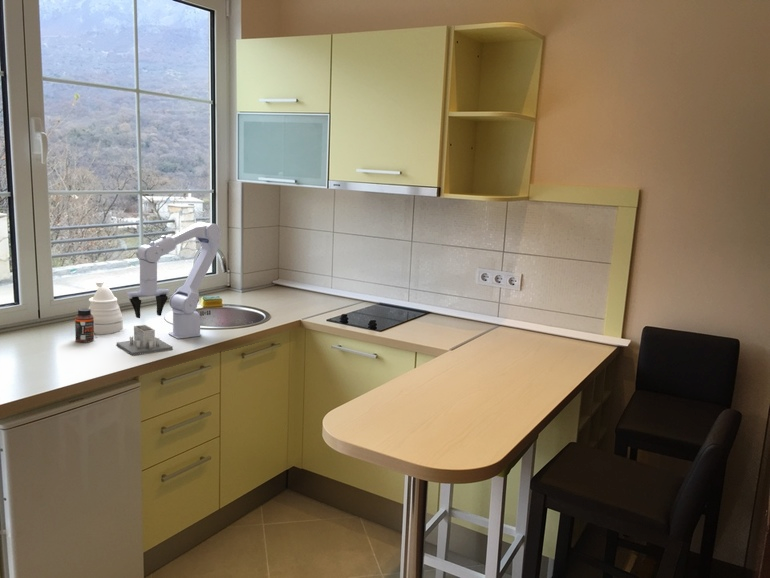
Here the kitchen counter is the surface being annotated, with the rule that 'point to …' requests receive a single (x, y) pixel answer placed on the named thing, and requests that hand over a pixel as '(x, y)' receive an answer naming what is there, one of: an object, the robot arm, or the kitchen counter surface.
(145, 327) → the block
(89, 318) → the supplement bottle
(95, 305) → the honey pot
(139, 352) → the pin tray
